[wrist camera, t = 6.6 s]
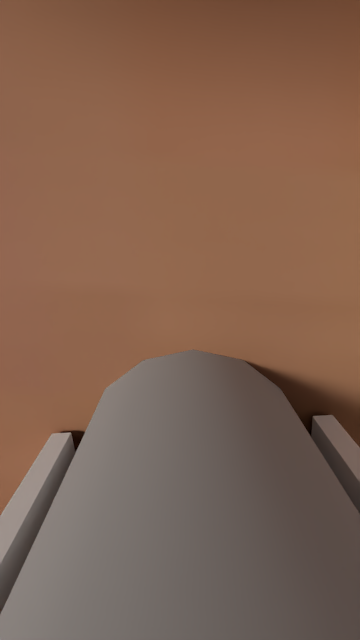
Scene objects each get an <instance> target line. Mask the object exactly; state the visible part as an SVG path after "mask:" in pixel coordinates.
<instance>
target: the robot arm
mask: <svg viewBox="0 0 360 640" xmlns="http://www.w3.org/2000/svg"><path fill="white" fill-rule="evenodd" d="M311 438H312V439H313V441H314V442H315V444H316V446H317V447H318V449H319V450H320V452H321V454H322V455H323V457H324V458H325V460H326V461H327V463H328V465H329V466H330V468H331V469H332V471H333V472H334V474H335V476H336V477H337V479H338V480H339V482H340V484H341V485H342V487H343V488H344V490H345V491H346V493H347V495H348V496H349V498H350V499H351V501H352V503H353V504H354V506H355V507H356V509H357V510H358V512H359V514H360V447H359V446H358V445H357V444H356V443H355V441H354V440H353V439H352V438H351V437H350V435H349V434H348V433H347V432H346V431H345V429H344V428H343V427H342V426H341V424H340V423H339V422H338V421H337V420H336V418H335V417H334V416H333V415H321V416H313V417H312V434H311ZM74 455H75V448H74V444H73V439H72V434H71V432H69V433H54V434H51V436H50V437H49V439H48V441H47V442H46V444H45V445H44V447H43V449H42V450H41V452H40V453H39V455H38V457H37V458H36V460H35V461H34V463H33V465H32V466H31V468H30V469H29V471H28V472H27V474H26V476H25V477H24V479H23V480H22V482H21V484H20V485H19V487H18V488H17V490H16V492H15V493H14V495H13V496H12V498H11V500H10V501H9V503H8V504H7V506H6V508H5V509H4V511H3V512H2V514H1V515H0V614H1V612H2V610H3V608H4V606H5V603H6V601H7V599H8V597H9V595H10V593H11V590H12V588H13V586H14V584H15V582H16V580H17V578H18V575H19V573H20V571H21V569H22V567H23V565H24V563H25V560H26V558H27V556H28V554H29V552H30V550H31V548H32V545H33V543H34V541H35V539H36V537H37V535H38V532H39V530H40V528H41V526H42V524H43V522H44V520H45V517H46V515H47V513H48V511H49V509H50V507H51V505H52V502H53V500H54V498H55V496H56V494H57V492H58V490H59V487H60V485H61V483H62V481H63V479H64V477H65V474H66V472H67V470H68V468H69V466H70V464H71V462H72V459H73V457H74Z"/></svg>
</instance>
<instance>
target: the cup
mask: <svg viewBox="0 0 360 640" xmlns="http://www.w3.org/2000/svg"><path fill="white" fill-rule="evenodd" d="M0 640H360V514H359V512H358V510H357V509H356V507H355V506H354V504H353V503H352V501H351V499H350V498H349V496H348V495H347V493H346V491H345V490H344V488H343V487H342V485H341V484H340V482H339V480H338V479H337V477H336V476H335V474H334V472H333V471H332V469H331V468H330V466H329V465H328V463H327V461H326V460H325V458H324V457H323V455H322V454H321V452H320V450H319V449H318V447H317V446H316V444H315V442H314V441H313V439H312V438H311V436H310V435H309V433H308V431H307V430H306V428H305V427H304V425H303V424H302V422H301V420H300V419H299V417H298V416H297V414H296V412H295V411H294V409H293V408H292V406H291V405H290V403H289V401H288V400H287V398H286V397H285V395H284V393H283V392H282V390H281V389H280V388H279V387H278V386H276V385H275V384H274V383H273V382H271V381H270V380H269V379H267V378H266V377H265V376H263V375H262V374H261V373H259V372H258V371H257V370H256V369H254V368H253V367H252V366H250V365H249V364H248V363H246V362H245V361H244V360H240V359H236V358H231V357H226V356H221V355H217V354H212V353H207V352H202V351H198V350H189V351H185V352H180V353H175V354H170V355H166V356H161V357H156V358H152V359H147V360H143V361H142V362H140V363H139V364H138V365H136V366H135V367H134V368H132V369H131V370H130V371H128V372H127V373H126V374H124V375H123V376H122V377H120V378H119V379H118V380H116V381H115V382H114V383H112V384H111V385H110V386H108V387H107V388H106V389H105V391H104V393H103V395H102V397H101V399H100V401H99V404H98V406H97V408H96V410H95V412H94V414H93V416H92V419H91V421H90V423H89V425H88V427H87V429H86V432H85V434H84V436H83V438H82V440H81V442H80V444H79V447H78V449H77V451H76V453H75V455H74V457H73V459H72V462H71V464H70V466H69V468H68V470H67V472H66V474H65V477H64V479H63V481H62V483H61V485H60V487H59V490H58V492H57V494H56V496H55V498H54V500H53V502H52V505H51V507H50V509H49V511H48V513H47V515H46V517H45V520H44V522H43V524H42V526H41V528H40V530H39V532H38V535H37V537H36V539H35V541H34V543H33V545H32V548H31V550H30V552H29V554H28V556H27V558H26V560H25V563H24V565H23V567H22V569H21V571H20V573H19V575H18V578H17V580H16V582H15V584H14V586H13V588H12V590H11V593H10V595H9V597H8V599H7V601H6V603H5V606H4V608H3V610H2V612H1V614H0Z"/></svg>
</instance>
